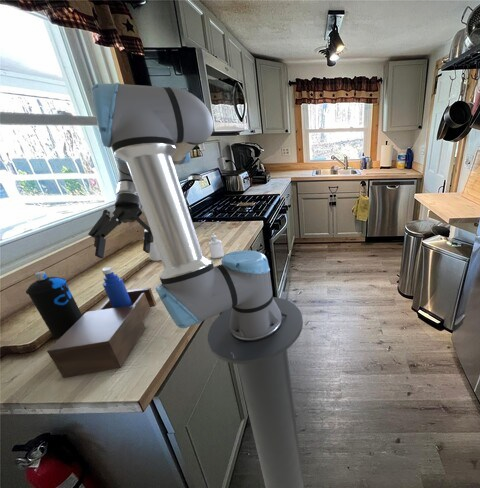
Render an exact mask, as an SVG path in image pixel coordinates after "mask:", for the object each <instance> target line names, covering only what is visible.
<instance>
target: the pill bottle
mask: <svg viewBox="0 0 480 488" xmlns="http://www.w3.org/2000/svg"><path fill="white" fill-rule="evenodd" d="M143 231H144V233H145V232H148V231H147V230H146V229H145V228H144V229H143ZM147 254H148V258H149V259H150V261H152V262H158V261H162V260H161V257H160V254H159V252H158V249H157V246H156V243H155V240H154V239H153V243H150V253H147Z"/></svg>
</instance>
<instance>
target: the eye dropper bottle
mask: <svg viewBox="0 0 480 488" xmlns="http://www.w3.org/2000/svg"><path fill="white" fill-rule="evenodd" d="M210 239H211V240H210V241H209V242H208V248H209V252H210V256H211V258H212V259H220V258H223V256H225V253H224V248H223V244H222V240H220V239H218V238H217V235H215V233H214V232H213V233H211V236H210Z"/></svg>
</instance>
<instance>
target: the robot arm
mask: <svg viewBox="0 0 480 488" xmlns="http://www.w3.org/2000/svg"><path fill="white" fill-rule="evenodd" d="M90 89H91V91H90V93H91V98H92V102H93V103H92V104H93V107H94V108H93V109H94V113H95V119H96V125H97V128H98V133H99V137H100V141H101V142H100V143H101V145H102V147H105V148H106V147H107V148H111V149H112V151H113V156H114V159H115V162H116V167H117V171H118V178H117V185H116V190H115V191H116V192H115V198H114V199H115V200H114V209H113V210H108V209H104V210H102V213H101V216H100V218H99V219H98V220H97V221H96V223H95V224H94V226H93V227H92V228H91V229H90V231H89V232H88V236H89V237H91V238H93V239H94V241H93V242H94V243H93V247H95V252H94V257H97V258H98V259H104V258H105V257H104V256H105V249H106V243H107V239H106V237H107V236H108V235H109V234H110V233H111V232H112V231H113V230H114V229H116V228H117V227H118V226H120V225H121V224H122V223H123V224H127V223H134V222H137V223H138V224H139V225H140V226H141V227H143V229H144V230H145V229H146V230H147V231H148V232H144V233H143V244H142V245H143V246H142V251H143V252H144V253H146V254H148V253H150V243H153V239H154V240H155V243H156V246H157V249H158V252H159V254H160V257H161V260H160V261H161V263H162V266H163V270H162V271H161V273H160V275H159V280H160V284H158V285H157V286H155V290H156V293H157V295H158V297H159V299H160V301H161V302H162V304H163V306H164V307H165V309H166V311H167V312H168V314H169V316H170V318H171V320H172V322H173V323H174V324H175V326H176V327H177V328H179V329H187V328H190V327H192V326H194V325H198V324H201V323H202V322H204V321H207V320H208V319H210V318H213V317H215V316H218V315H220V314H222V313H223V312H224V311H226V310H228V309H230V308H232V312H231V317H230V332H231V334H232V336H233V337H234V338H235V339H237V340H239V341H242V342H257V341H261V340H264V339H266V338H268V337H270V336H272V335H273V334H274V333H276V332H277V331H278V329H279V328H280V326H281V324H282V316H284V317H287V315H286V314H284V313H281V311H280V309H279V308H278V306H277V304H276V302H275V301H274V299H273V297H274V295H273V286H272V279H271V272H270V271H271V268H270V265H269V260H268V258H267V256H266V255H265V254H264V253H261V252H260V251H257V250H247V249H245V250H244V249H243V250H235V251H230V252H228V253H226V254H224V256H223V257H221V264H218V265H216V266H214V263H213V260H211V259H210V258H208V257H205V256H204V254H203V251H202V247H201V244H200V242H199V239H198V236H197V232H196V229H195V226H194V222H193V220H192V217H191V214H190V213H191V212H190V211H189V208H188V205H187V201H186V199H185V194H184V192H183V188H182V187H181V186H182V185H181V183H180V179H179V177H178V174H177V170H176V167H175V165H179V166H180V165H184V164H189V163H190V162H191V151H193V149H194V148H195V147H196V146H199V145H203V144H204V143H206V142H207V141H208V140H209V139H210V137H211V136H212V133H214V132H213V131H214V119H213V116H212V114H211V111H210V109H208V107H207V106H206V104H205V103H204V102H203V101H202V99H200V98H198V97H197V96H196V95H195V94H193V93H191V92H189V91H187V90H185V89H182V88H179V87H173V86H172V87H171V86H155V85H154V86H153V85H142V84H141V85H140V84H126V83H120V82H115V83H105V82H101V83H99V82H98V83H95V84H94V85H92V87H91V88H90ZM143 214H144V215H145V218H146V220H147V223H148V224H147V223H146V222H144V221H143V220H142V219H141V218H140V217H141V215H143Z"/></svg>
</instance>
